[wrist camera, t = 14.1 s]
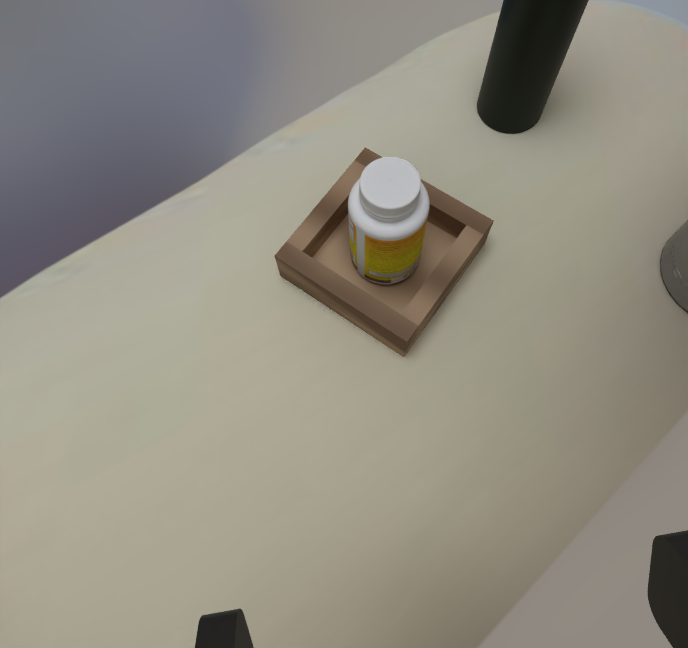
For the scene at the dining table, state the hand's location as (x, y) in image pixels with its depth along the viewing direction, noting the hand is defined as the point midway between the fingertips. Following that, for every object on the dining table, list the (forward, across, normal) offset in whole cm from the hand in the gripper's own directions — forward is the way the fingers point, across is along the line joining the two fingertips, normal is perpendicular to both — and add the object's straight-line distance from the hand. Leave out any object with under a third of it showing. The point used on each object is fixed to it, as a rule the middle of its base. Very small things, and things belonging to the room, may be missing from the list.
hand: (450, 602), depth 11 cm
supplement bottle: (+37, -4, +5) cm, 38 cm away
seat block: (+38, -4, +6) cm, 38 cm away
